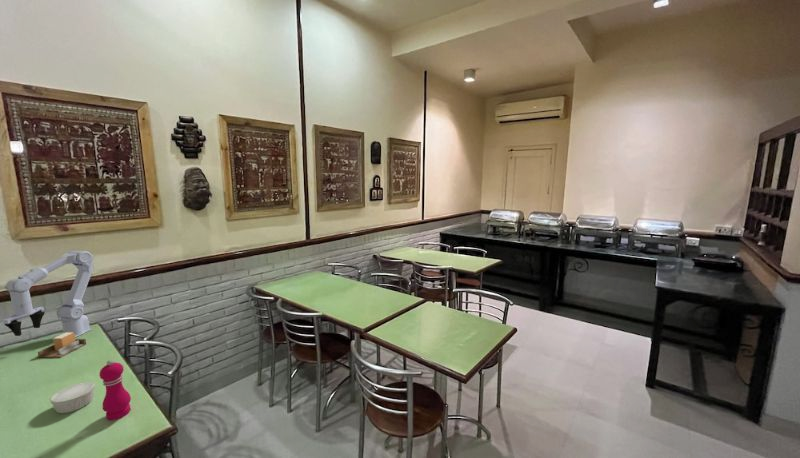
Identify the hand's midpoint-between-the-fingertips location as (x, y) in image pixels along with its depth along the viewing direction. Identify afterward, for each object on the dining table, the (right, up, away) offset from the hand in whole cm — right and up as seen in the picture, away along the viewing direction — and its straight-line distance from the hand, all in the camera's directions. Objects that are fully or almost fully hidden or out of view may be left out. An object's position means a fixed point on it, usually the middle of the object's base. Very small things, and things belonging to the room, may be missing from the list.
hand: (27, 331), depth 150 cm
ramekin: (+58, -15, -35) cm, 70 cm away
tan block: (+14, -9, +3) cm, 17 cm away
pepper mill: (+78, -16, -40) cm, 89 cm away
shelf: (+15, -10, +2) cm, 18 cm away
